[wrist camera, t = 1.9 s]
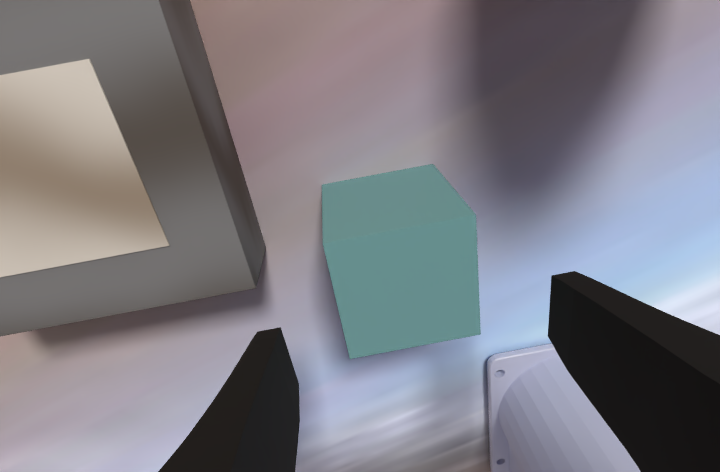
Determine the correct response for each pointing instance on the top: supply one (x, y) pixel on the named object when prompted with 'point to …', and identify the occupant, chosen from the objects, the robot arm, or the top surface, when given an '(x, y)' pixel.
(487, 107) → the top surface
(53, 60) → the plinth
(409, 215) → the teal block
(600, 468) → the robot arm
